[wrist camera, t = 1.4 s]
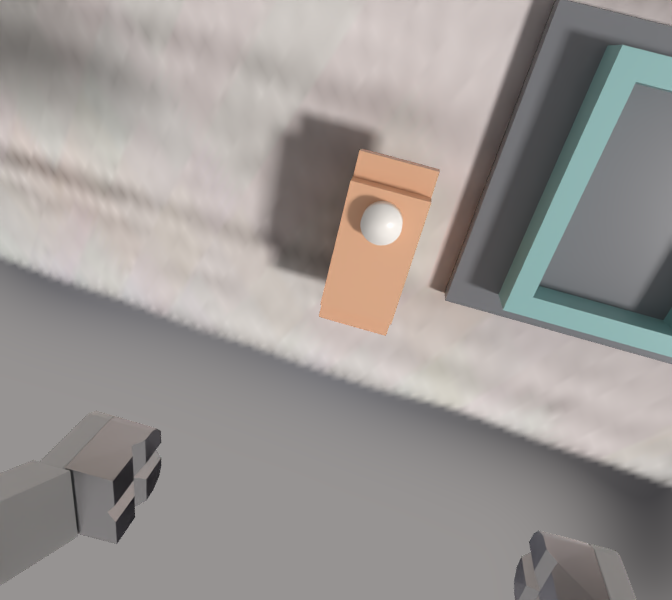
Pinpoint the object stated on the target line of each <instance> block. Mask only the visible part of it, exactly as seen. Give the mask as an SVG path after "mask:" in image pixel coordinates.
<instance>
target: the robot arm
mask: <svg viewBox="0 0 672 600" xmlns="http://www.w3.org/2000/svg"><path fill="white" fill-rule="evenodd" d="M160 444H161V431H160V430H158V429H157V428H153V427H150V426H147V425H143V424H140V423H137V422H133V421H129V420H126V419H123V418H119V417H115V416H112V415H108V414H105V413H102V412H98V411H94V412H92V413H89V414H88V415H87V416H85V417H84V418H83V419H82V421H80V422H79V423H78V424H77V425H76V426H75V427H74V428H73V429H72V430H71V431H70V432H69V433H68V434H67V435H66V436H65V437H64V438H63V439H62V440H61V441H60V442H59V443H58V444H57V445H56V446H55V447H54V448H53V449H52V450H51V451H50V452H49V453H48V454H47V455H46V456H45V457H44V458H43V459H42V460H41V461H40V462H38V461H34V460H32V461H30V462H27V463H25V464H22V465H19V466H17V467H14V468H12V469H9V470H7V471H4V472H2V473H0V585H2V584H4V583H5V582H7V581H8V580H10V579H11V578H13V577H15V576H16V575H18V574H19V573H21V572H23V571H24V570H26V569H27V568H29V567H30V566H32V565H33V564H35V563H37V562H38V561H40V560H42V559H43V558H44V557H46V556H48V555H49V554H51V553H52V552H54V551H56V550H57V549H59V548H60V547H62V546H64V545H65V544H67V543H68V542H70V541H71V540H73V539H75V538H76V537H77V536H78V534H80V535H84V536H88V537H92V538H96V539H99V540H103V541H108V542H111V543H115V544H117V543H118V542H119V540H120V539H121V537H122V536H123V534H124V533H125V531H126V530H127V529H128V527H129V525H130V524H131V523H132V521H133V520H134V518H135V506H137V505H139V504H141V503H142V502H144V501H146V500H147V499H148V497H149V496H150V494H151V493H152V491H153V489H154V487H155V485H156V483H157V480H158V478H159V475H160V470H161V456H160V455H159V453H158V452H157V450H156V449H157V448H158V446H159V445H160ZM529 544H530V550H531V552H530V553H528V554H526V555H523V556H522V557H521V559H520V561H519V563H518V565H517V569H516V574H515V579H514V595H515V600H636V597H635V595H634V592H633V589H632V586H631V584H630V581H629V579H628V576H627V573H626V571H625V568H624V565H623V563H622V560H621V557H620V556H619V554H618V553H617V552H616V551H615V550H611V549H607V548H603V547H600V546H596V545H592V544H587V543H585V542H581V541H577V540H574V539H570V538H565V537H562V536H558V535H554V534H550V533H546V532H542V531H537V532H535V533H534V534H533V536H532V537H531V539H530V541H529Z"/></svg>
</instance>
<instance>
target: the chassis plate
mask: <svg viewBox="0 0 672 600" xmlns="http://www.w3.org/2000/svg"><path fill="white" fill-rule="evenodd" d="M445 300H446V301H449V302H453V303H456V304H460V305H463V306H467V307H471V308H474V309H478V310H481V311H485V312H488V313H492V314H495V315H499V316H503V317H506V318H510V319H513V320H517V321H520V322H524V323H527V324H531V325H535V326H538V327H542V328H545V329H549V330H552V331H556V332H559V333H563V334H567V335H570V336H574V337H577V338H581V339H584V340H588V341H591V342H595V343H598V344H602V345H606V346H609V347H613V348H616V349H620V350H623V351H627V352H630V353H634V354H638V355H641V356H645V357H648V358H652V359H655V360H659V361H662V362H666V363H670V364H672V26H668V25H664V24H660V23H656V22H652V21H648V20H644V19H640V18H636V17H632V16H628V15H624V14H620V13H616V12H612V11H608V10H604V9H600V8H596V7H592V6H588V5H584V4H580V3H576V2H572V1H568V0H556V1H555V3H554V6H553V8H552V11H551V14H550V16H549V19H548V22H547V24H546V27H545V29H544V32H543V35H542V37H541V40H540V43H539V45H538V48H537V51H536V53H535V56H534V59H533V61H532V64H531V66H530V69H529V72H528V74H527V77H526V80H525V82H524V85H523V88H522V90H521V93H520V96H519V98H518V101H517V104H516V106H515V109H514V111H513V114H512V117H511V119H510V122H509V125H508V127H507V130H506V133H505V135H504V138H503V141H502V143H501V146H500V148H499V151H498V154H497V156H496V159H495V162H494V164H493V167H492V170H491V172H490V175H489V178H488V180H487V183H486V186H485V188H484V191H483V193H482V196H481V199H480V201H479V204H478V207H477V209H476V212H475V215H474V217H473V220H472V223H471V225H470V228H469V230H468V233H467V236H466V238H465V241H464V244H463V246H462V249H461V252H460V254H459V257H458V260H457V262H456V265H455V268H454V270H453V273H452V275H451V278H450V281H449V283H448V286H447V289H446V291H445Z"/></svg>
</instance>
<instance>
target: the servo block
mask: <svg viewBox="0 0 672 600" xmlns="http://www.w3.org/2000/svg"><path fill="white" fill-rule="evenodd" d="M439 172H440V171H439V169H436V168H432V167H429V166H425V165H421V164H418V163H414V162H410V161H406V160H403V159H399V158H395V157H392V156H388V155H384V154H380V153H377V152H373V151H369V150H366V149H362V148H361V149H360V150H359V154H358V158H357V162H356V166H355V171H354V175H353V177H352V179H351V181H350V185H349V189H348V193H347V197H346V201H345V205H344V210H343V214H342V218H341V222H340V226H339V230H338V234H337V238H336V242H335V247H334V251H333V255H332V259H331V263H330V267H329V271H328V275H327V279H326V284H325V288H324V292H323V296H322V300H321V304H320V305H321V309H320V314H319V317H322V318H325V319H329V320H332V321H336V322H339V323H343V324H346V325H350V326H353V327H357V328H360V329H364V330H367V331H371V332H374V333H378V334H381V335H385V336H386V334H387V331H388V328H389V325H390V324H391V323H392V320H393V317H394V314H395V311H396V308H397V305H398V302H399V299H400V296H401V293H402V290H403V287H404V284H405V281H406V278H407V275H408V272H409V269H410V265H411V262H412V259H413V256H414V253H415V250H416V247H417V244H418V241H419V238H420V235H421V232H422V229H423V226H424V223H425V220H426V217H427V214H428V211H429V208H430V205H431V197H432V194H433V191H434V187H435V184H436V181H437V178H438V175H439Z"/></svg>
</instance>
